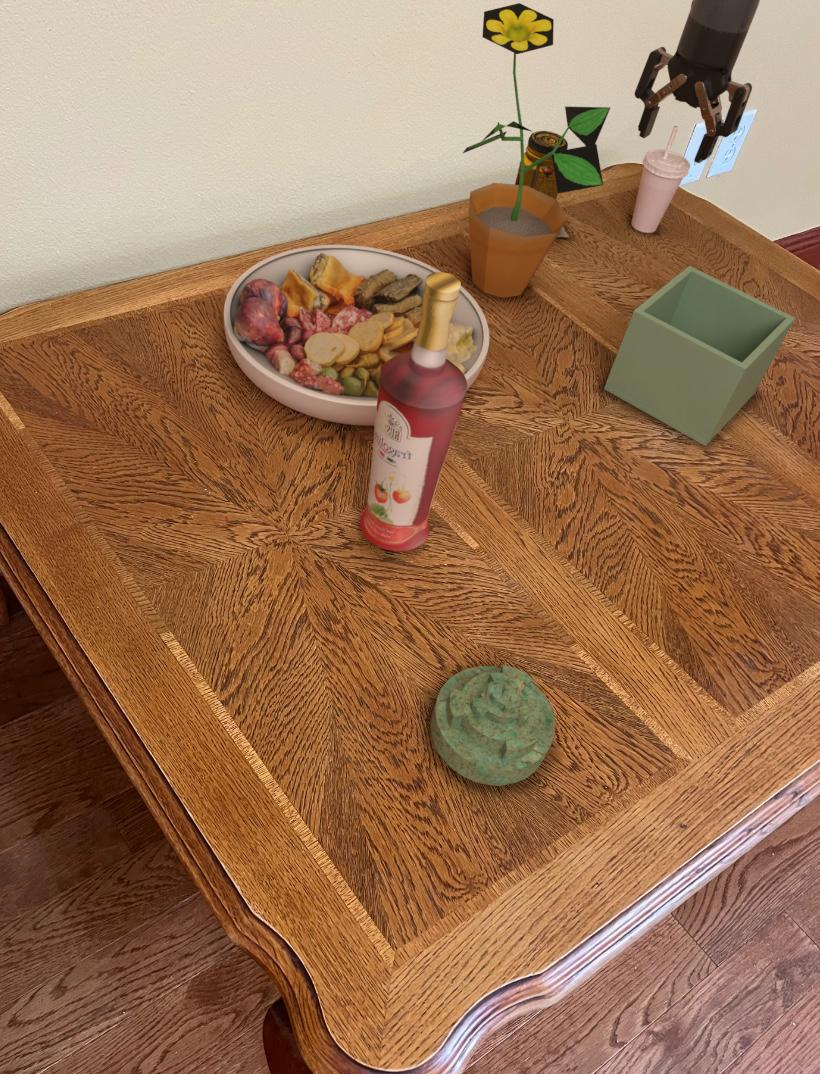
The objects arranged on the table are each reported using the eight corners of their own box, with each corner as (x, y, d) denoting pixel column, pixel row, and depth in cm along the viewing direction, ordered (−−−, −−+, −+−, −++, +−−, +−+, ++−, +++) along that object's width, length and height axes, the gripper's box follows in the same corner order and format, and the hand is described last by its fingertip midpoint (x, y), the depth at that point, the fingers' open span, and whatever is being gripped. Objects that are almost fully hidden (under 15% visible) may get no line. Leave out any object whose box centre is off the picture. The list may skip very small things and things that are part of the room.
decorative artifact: (457, 799, 75) (567, 768, 78) (475, 756, 70) (592, 724, 72) (412, 697, 81) (516, 672, 84) (426, 649, 75) (536, 624, 78)
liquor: (444, 538, 93) (510, 289, 71) (393, 573, 89) (445, 323, 67) (392, 496, 96) (441, 244, 74) (340, 529, 92) (374, 274, 70)
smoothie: (638, 209, 139) (673, 113, 128) (673, 229, 137) (712, 132, 126) (613, 222, 136) (646, 124, 125) (649, 242, 133) (686, 144, 123)
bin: (656, 342, 118) (689, 265, 110) (754, 394, 114) (795, 317, 105) (603, 389, 111) (633, 310, 102) (705, 446, 106) (745, 369, 98)
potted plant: (400, 271, 122) (441, 15, 98) (497, 230, 131) (554, -13, 107) (501, 341, 114) (570, 84, 91) (595, 293, 124) (680, 48, 100)
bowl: (428, 271, 122) (438, 214, 116) (521, 422, 105) (539, 365, 99) (199, 290, 114) (197, 230, 108) (260, 458, 97) (262, 398, 91)
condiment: (498, 210, 134) (518, 125, 125) (554, 211, 136) (578, 127, 127) (511, 238, 130) (532, 152, 121) (568, 239, 131) (594, 154, 122)
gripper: (785, 31, 115) (729, 161, 127) (683, -10, 119) (639, 120, 132) (760, 45, 111) (705, 178, 123) (656, 2, 115) (613, 135, 128)
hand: (671, 148), depth 128 cm, fingers open, 8 cm apart
